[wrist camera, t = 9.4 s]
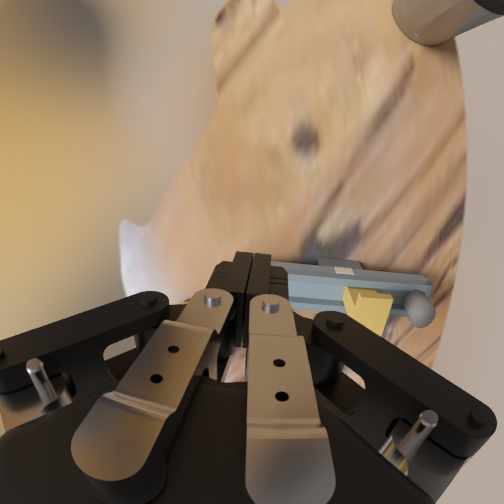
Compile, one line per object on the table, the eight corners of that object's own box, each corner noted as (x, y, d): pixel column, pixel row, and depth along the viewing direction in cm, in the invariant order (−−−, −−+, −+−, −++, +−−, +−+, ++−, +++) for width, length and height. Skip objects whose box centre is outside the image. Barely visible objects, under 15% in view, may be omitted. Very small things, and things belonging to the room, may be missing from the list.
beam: (247, 282, 46) (239, 321, 36) (250, 249, 44) (241, 283, 34) (407, 295, 44) (432, 332, 35) (416, 266, 43) (445, 299, 33)
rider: (339, 311, 41) (348, 343, 34) (348, 269, 38) (361, 297, 32) (365, 312, 40) (378, 344, 34) (376, 272, 38) (393, 299, 31)
